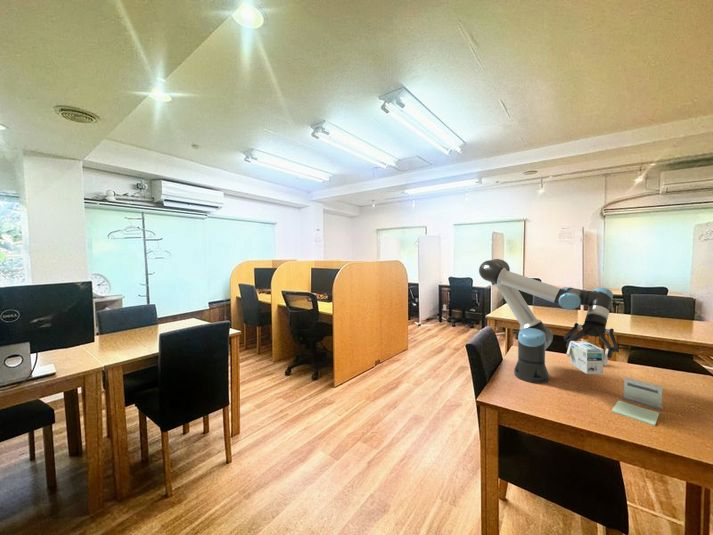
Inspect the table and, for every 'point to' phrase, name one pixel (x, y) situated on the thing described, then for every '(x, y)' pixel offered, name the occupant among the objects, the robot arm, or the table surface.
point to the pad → (636, 412)
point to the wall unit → (643, 393)
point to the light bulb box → (587, 357)
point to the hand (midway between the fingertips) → (585, 359)
